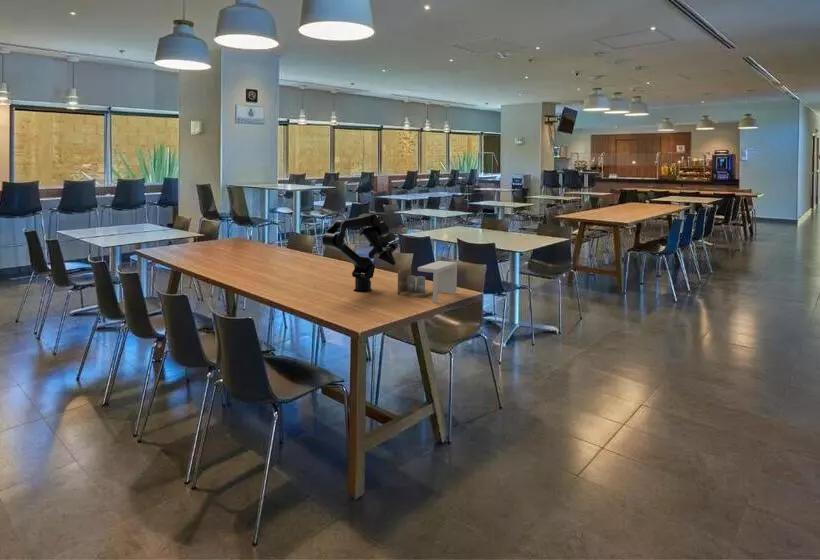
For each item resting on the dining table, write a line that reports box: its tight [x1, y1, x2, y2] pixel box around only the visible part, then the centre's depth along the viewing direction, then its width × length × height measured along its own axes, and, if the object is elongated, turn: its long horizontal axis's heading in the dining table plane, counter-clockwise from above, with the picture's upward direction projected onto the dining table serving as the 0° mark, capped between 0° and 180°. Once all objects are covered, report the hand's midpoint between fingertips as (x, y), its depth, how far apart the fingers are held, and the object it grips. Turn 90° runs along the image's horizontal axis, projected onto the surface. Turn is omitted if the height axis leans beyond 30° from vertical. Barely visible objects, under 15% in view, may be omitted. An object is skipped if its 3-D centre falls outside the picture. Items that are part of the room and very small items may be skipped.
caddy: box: [397, 267, 433, 299], centre depth 272 cm, size 13×10×11 cm
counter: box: [417, 260, 458, 304], centre depth 267 cm, size 9×21×14 cm, turn 152°
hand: (394, 264), depth 276 cm, fingers closed
